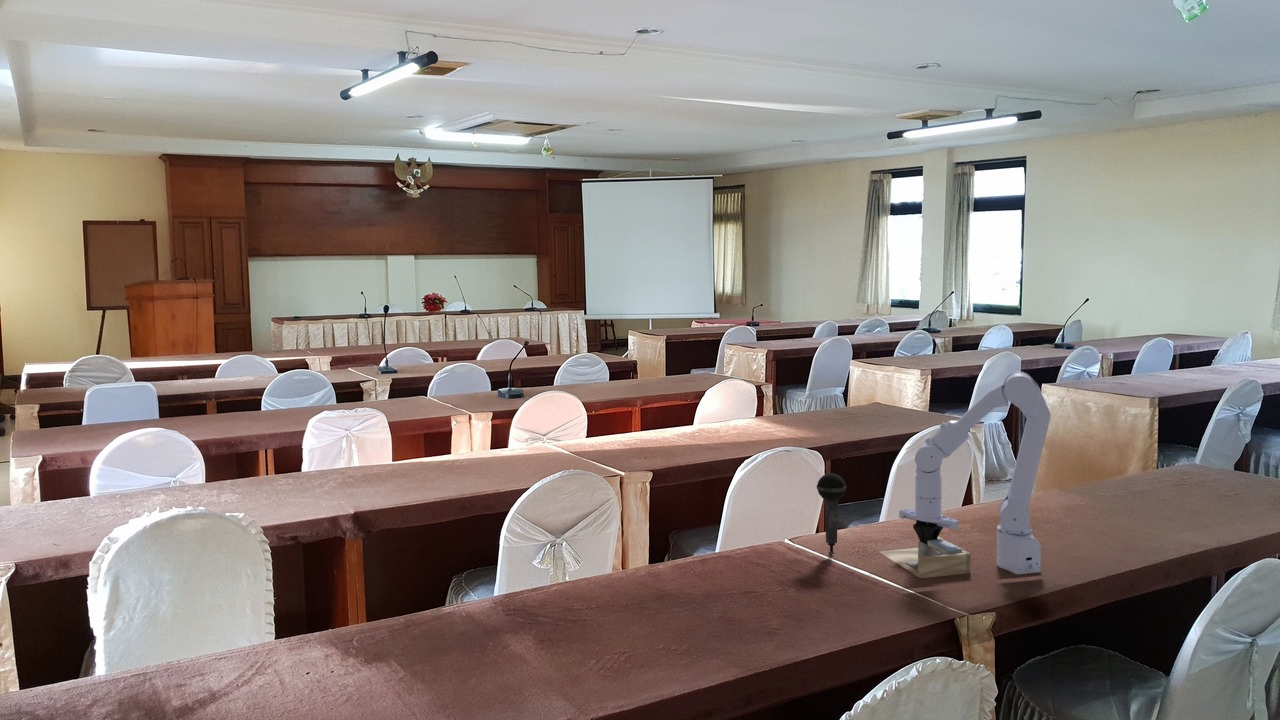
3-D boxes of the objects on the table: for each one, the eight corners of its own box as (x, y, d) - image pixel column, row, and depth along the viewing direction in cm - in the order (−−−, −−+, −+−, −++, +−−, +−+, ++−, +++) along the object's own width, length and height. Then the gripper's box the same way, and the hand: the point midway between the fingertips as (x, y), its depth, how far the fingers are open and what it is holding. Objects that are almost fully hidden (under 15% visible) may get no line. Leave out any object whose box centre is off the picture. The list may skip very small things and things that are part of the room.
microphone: (813, 558, 223) (812, 475, 221) (821, 550, 229) (821, 469, 227) (841, 562, 220) (841, 477, 218) (849, 554, 226) (849, 471, 224)
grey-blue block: (961, 570, 209) (961, 548, 209) (947, 572, 208) (947, 550, 208) (940, 560, 217) (940, 539, 216) (927, 561, 216) (927, 540, 215)
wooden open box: (970, 576, 208) (970, 551, 207) (920, 581, 205) (920, 556, 205) (924, 550, 227) (924, 527, 227) (878, 554, 225) (878, 531, 224)
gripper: (966, 498, 214) (965, 557, 215) (911, 488, 225) (911, 543, 227) (948, 504, 210) (948, 564, 211) (893, 493, 221) (893, 549, 222)
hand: (927, 554), depth 219 cm, fingers closed
